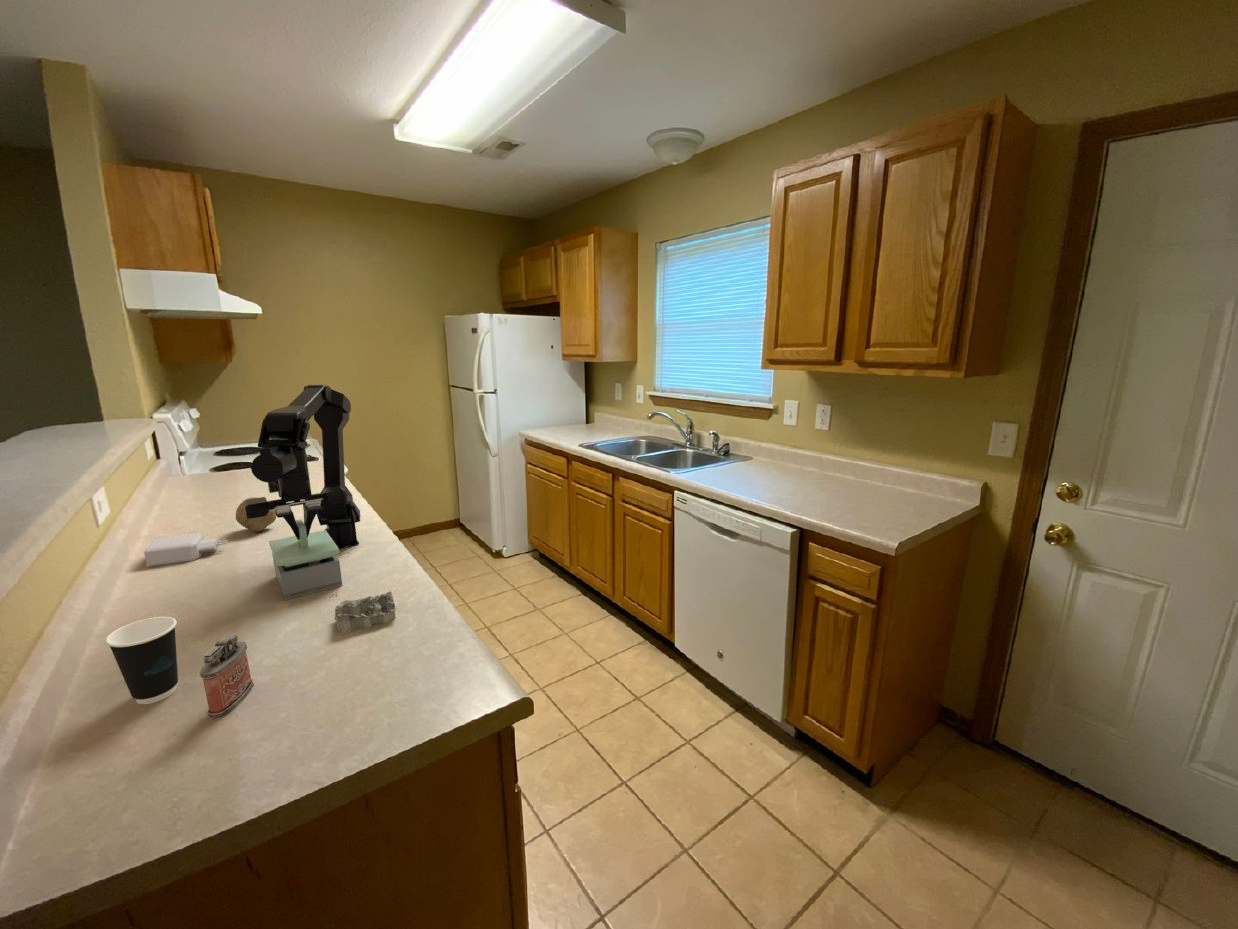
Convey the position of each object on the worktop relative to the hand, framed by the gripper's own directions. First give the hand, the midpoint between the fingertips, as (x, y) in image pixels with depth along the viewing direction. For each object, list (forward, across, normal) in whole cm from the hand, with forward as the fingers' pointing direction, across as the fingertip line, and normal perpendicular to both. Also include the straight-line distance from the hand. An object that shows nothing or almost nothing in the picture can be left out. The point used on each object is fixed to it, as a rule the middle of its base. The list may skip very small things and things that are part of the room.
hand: (302, 538), depth 115 cm
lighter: (+11, +16, +38) cm, 42 cm away
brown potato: (+11, +6, -44) cm, 46 cm away
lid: (+4, 0, 0) cm, 4 cm away
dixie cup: (+11, +25, +29) cm, 40 cm away
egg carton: (+11, -6, +25) cm, 28 cm away
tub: (+10, 0, 0) cm, 10 cm away
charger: (+11, +20, -34) cm, 41 cm away
